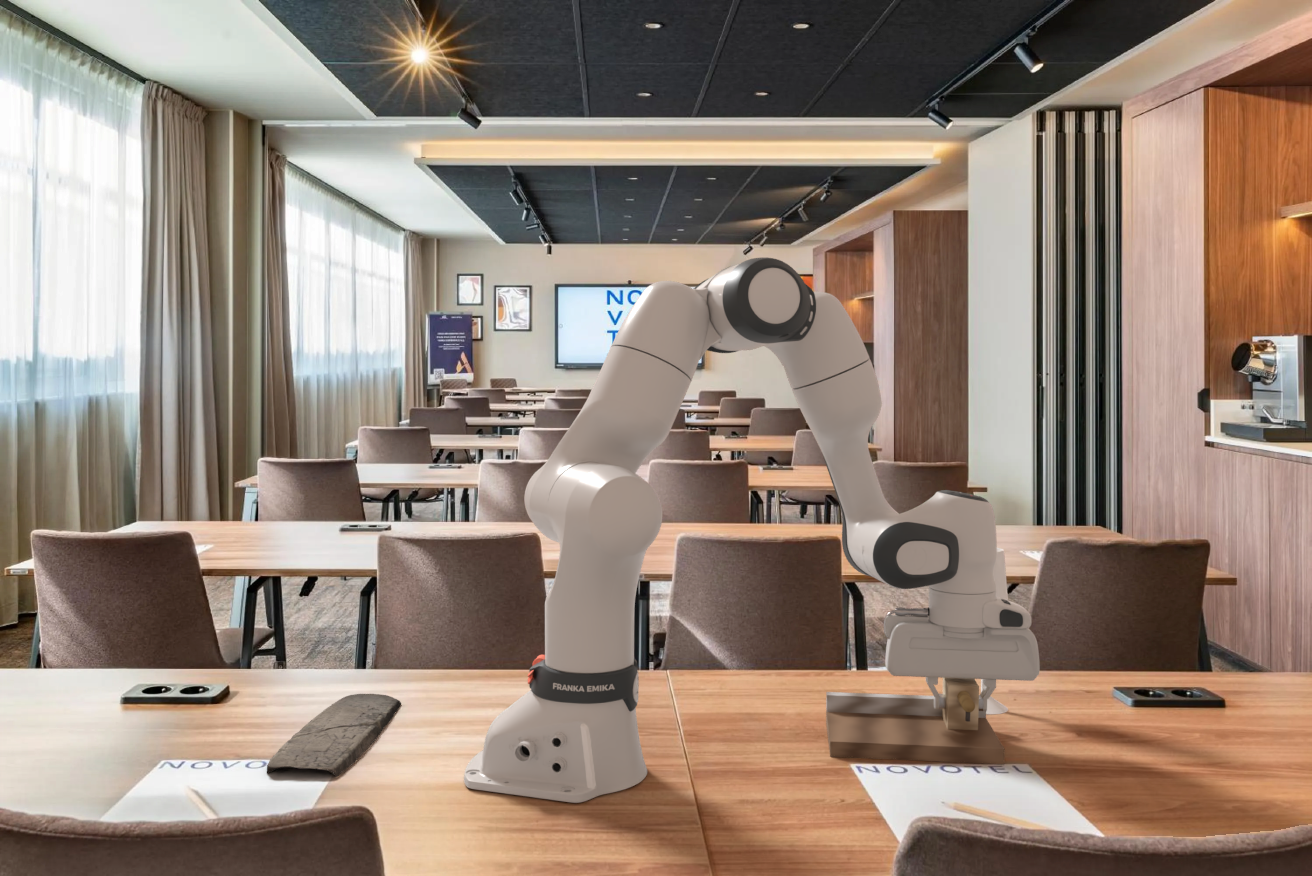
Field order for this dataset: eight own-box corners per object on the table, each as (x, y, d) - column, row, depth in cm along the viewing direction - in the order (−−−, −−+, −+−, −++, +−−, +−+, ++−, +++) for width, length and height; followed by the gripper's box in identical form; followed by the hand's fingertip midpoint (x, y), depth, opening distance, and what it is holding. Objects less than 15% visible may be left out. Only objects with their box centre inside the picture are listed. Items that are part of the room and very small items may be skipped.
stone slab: (408, 692, 158) (339, 755, 128) (408, 713, 158) (339, 781, 128) (341, 692, 158) (257, 755, 128) (341, 713, 158) (257, 781, 128)
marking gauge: (952, 739, 136) (953, 694, 136) (941, 716, 145) (942, 674, 145) (983, 740, 136) (984, 695, 135) (971, 718, 145) (972, 675, 144)
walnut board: (830, 756, 135) (830, 723, 135) (826, 722, 149) (826, 691, 149) (1004, 764, 133) (1004, 730, 132) (983, 728, 147) (984, 697, 146)
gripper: (886, 612, 140) (885, 713, 140) (1043, 616, 137) (1041, 719, 138) (882, 602, 146) (880, 699, 147) (1032, 606, 143) (1030, 704, 144)
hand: (960, 709), depth 142 cm, fingers closed on marking gauge, 4 cm apart
